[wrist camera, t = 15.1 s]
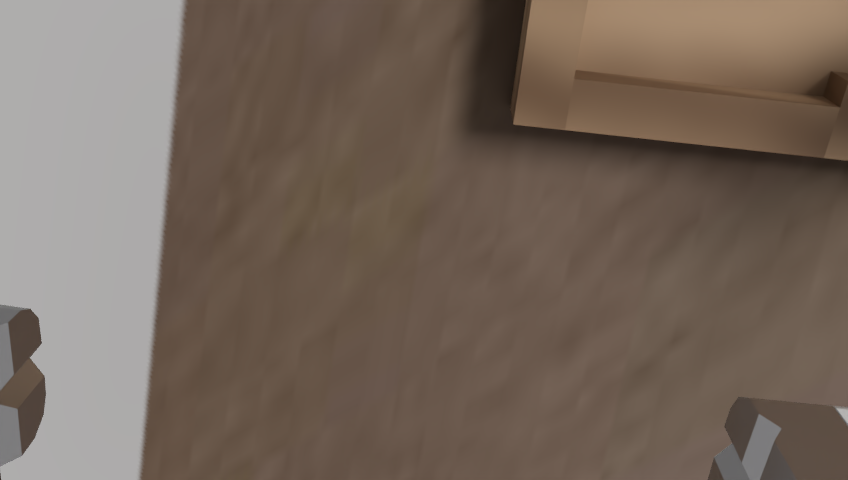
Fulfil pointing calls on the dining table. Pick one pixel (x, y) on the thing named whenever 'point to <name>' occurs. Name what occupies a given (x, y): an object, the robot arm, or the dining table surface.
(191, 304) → the dining table surface
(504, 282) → the dining table surface
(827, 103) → the keyhole board
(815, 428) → the robot arm
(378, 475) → the dining table surface
